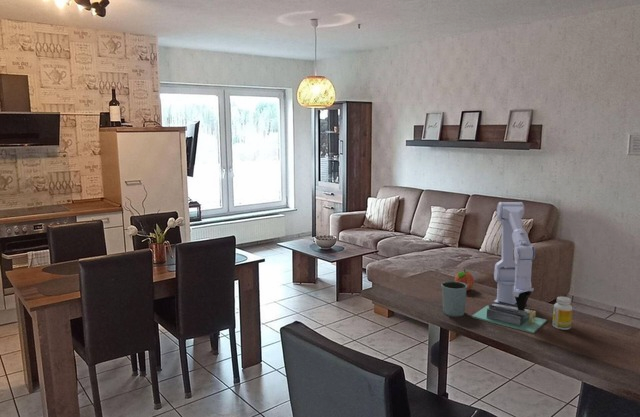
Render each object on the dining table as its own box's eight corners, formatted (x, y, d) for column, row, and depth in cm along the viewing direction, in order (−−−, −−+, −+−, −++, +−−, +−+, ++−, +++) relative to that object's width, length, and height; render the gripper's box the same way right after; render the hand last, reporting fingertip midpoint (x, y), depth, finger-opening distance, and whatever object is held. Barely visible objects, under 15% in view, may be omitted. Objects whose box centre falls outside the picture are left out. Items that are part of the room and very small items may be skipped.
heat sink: (496, 309, 201) (497, 298, 200) (538, 319, 190) (539, 307, 189) (484, 317, 192) (485, 306, 191) (528, 328, 181) (528, 316, 180)
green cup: (467, 318, 194) (468, 289, 192) (441, 316, 196) (441, 288, 194) (464, 308, 204) (465, 281, 202) (440, 307, 206) (440, 280, 204)
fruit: (449, 288, 229) (450, 268, 227) (465, 285, 233) (465, 265, 231) (462, 294, 221) (463, 273, 219) (478, 290, 225) (479, 270, 224)
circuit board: (487, 306, 205) (487, 305, 205) (546, 321, 190) (546, 319, 190) (471, 317, 194) (471, 315, 194) (533, 333, 179) (533, 331, 178)
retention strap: (490, 306, 195) (490, 305, 195) (493, 305, 197) (493, 303, 197) (527, 313, 185) (527, 311, 185) (529, 311, 187) (529, 309, 187)
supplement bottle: (548, 325, 186) (550, 297, 184) (559, 322, 188) (561, 294, 186) (563, 331, 180) (565, 302, 178) (574, 328, 183) (576, 299, 181)
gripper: (527, 282, 178) (525, 317, 180) (540, 273, 189) (538, 306, 191) (507, 278, 183) (506, 313, 185) (521, 270, 193) (519, 302, 195)
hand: (521, 309), depth 188 cm, fingers closed, pressing on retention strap
